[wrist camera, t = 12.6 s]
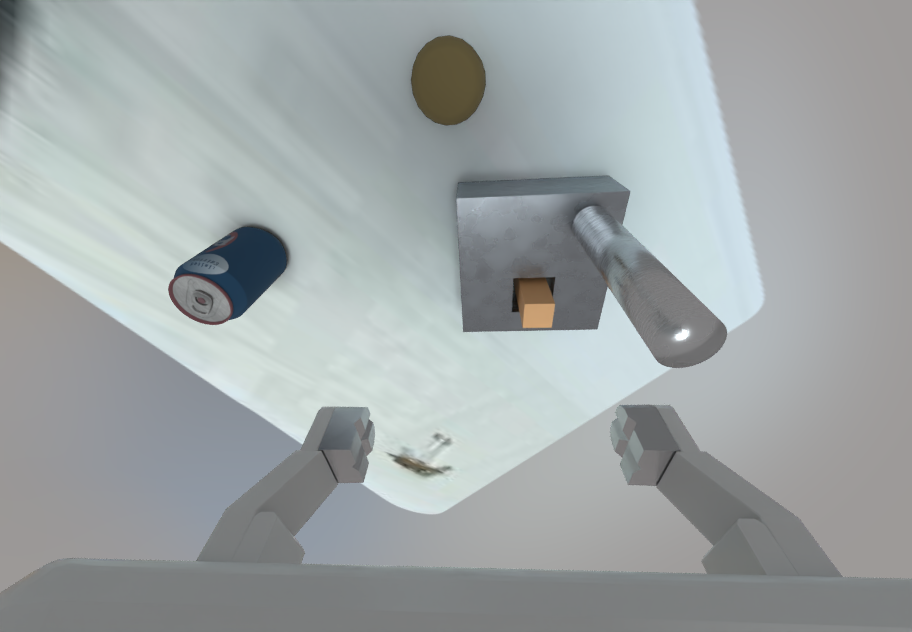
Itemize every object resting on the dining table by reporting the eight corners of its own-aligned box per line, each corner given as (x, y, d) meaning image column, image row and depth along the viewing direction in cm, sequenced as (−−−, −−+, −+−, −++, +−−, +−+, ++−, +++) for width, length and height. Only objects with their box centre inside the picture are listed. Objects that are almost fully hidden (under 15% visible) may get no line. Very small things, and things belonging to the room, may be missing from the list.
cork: (499, 77, 31) (510, 76, 22) (457, 133, 34) (452, 153, 25) (448, 22, 29) (439, -4, 20) (408, 87, 32) (384, 90, 23)
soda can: (241, 211, 39) (165, 255, 30) (298, 243, 41) (245, 294, 32) (228, 256, 43) (156, 308, 33) (281, 283, 45) (229, 340, 35)
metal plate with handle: (464, 304, 46) (458, 473, 26) (458, 182, 37) (443, 302, 17) (583, 301, 45) (670, 475, 25) (608, 175, 36) (776, 294, 16)
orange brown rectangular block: (513, 281, 43) (522, 327, 35) (514, 260, 42) (524, 304, 33) (536, 280, 43) (551, 327, 35) (538, 259, 41) (555, 303, 33)
